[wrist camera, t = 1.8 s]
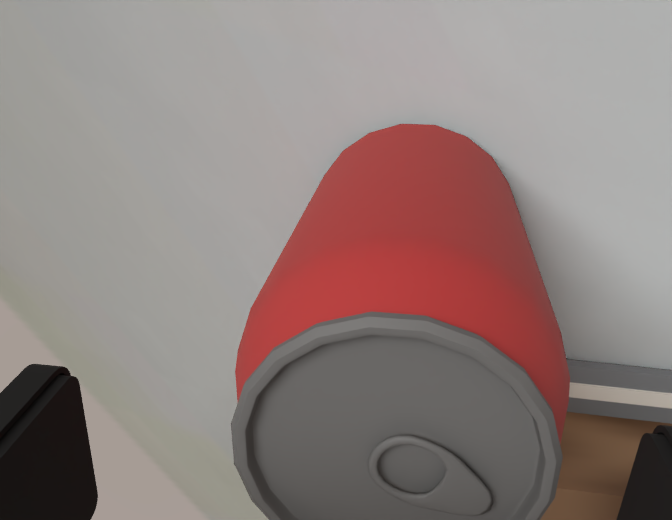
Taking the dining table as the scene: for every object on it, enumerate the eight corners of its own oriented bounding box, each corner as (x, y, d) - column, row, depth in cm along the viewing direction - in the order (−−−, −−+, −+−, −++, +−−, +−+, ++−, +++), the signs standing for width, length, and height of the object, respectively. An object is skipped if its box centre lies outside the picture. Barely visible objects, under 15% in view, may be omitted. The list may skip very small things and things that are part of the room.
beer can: (446, 331, 23) (455, 649, 12) (286, 246, 22) (148, 499, 12) (554, 181, 20) (691, 421, 9) (374, 80, 20) (299, 211, 9)
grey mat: (932, 397, 21) (942, 406, 21) (792, 661, 27) (798, 671, 27) (401, 341, 23) (400, 348, 23) (378, 597, 29) (377, 606, 29)
